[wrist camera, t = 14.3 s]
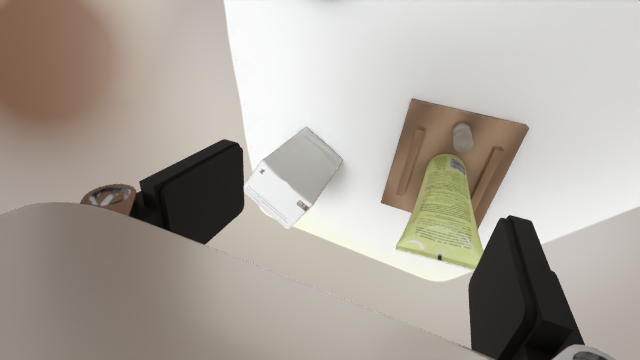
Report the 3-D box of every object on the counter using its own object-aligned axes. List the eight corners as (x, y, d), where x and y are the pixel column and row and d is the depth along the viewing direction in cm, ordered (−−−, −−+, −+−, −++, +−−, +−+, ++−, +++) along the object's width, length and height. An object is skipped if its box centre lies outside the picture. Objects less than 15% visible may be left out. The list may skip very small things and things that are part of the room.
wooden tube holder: (526, 124, 37) (542, 144, 31) (474, 227, 45) (479, 259, 39) (412, 98, 41) (405, 111, 34) (382, 198, 49) (372, 223, 42)
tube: (434, 193, 44) (426, 293, 27) (415, 165, 43) (394, 250, 27) (473, 175, 41) (490, 275, 24) (453, 144, 40) (457, 226, 24)
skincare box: (287, 149, 51) (236, 188, 39) (307, 124, 48) (258, 158, 35) (324, 183, 51) (285, 233, 39) (347, 160, 48) (311, 206, 36)
